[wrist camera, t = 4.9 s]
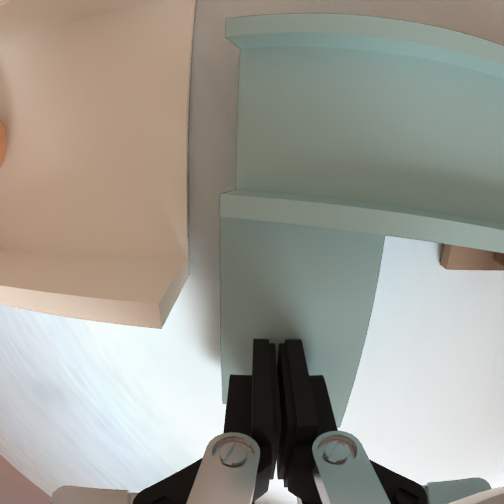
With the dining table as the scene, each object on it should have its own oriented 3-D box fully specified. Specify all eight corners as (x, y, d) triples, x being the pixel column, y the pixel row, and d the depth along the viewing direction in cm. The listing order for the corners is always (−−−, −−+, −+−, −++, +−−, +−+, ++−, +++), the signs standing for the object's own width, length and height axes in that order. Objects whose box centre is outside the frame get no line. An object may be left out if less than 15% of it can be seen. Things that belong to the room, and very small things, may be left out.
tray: (197, -14, 9) (173, -69, 5) (189, 274, 12) (161, 328, 9) (-18, 49, 9) (-70, 41, 5) (-16, 260, 12) (-64, 289, 9)
